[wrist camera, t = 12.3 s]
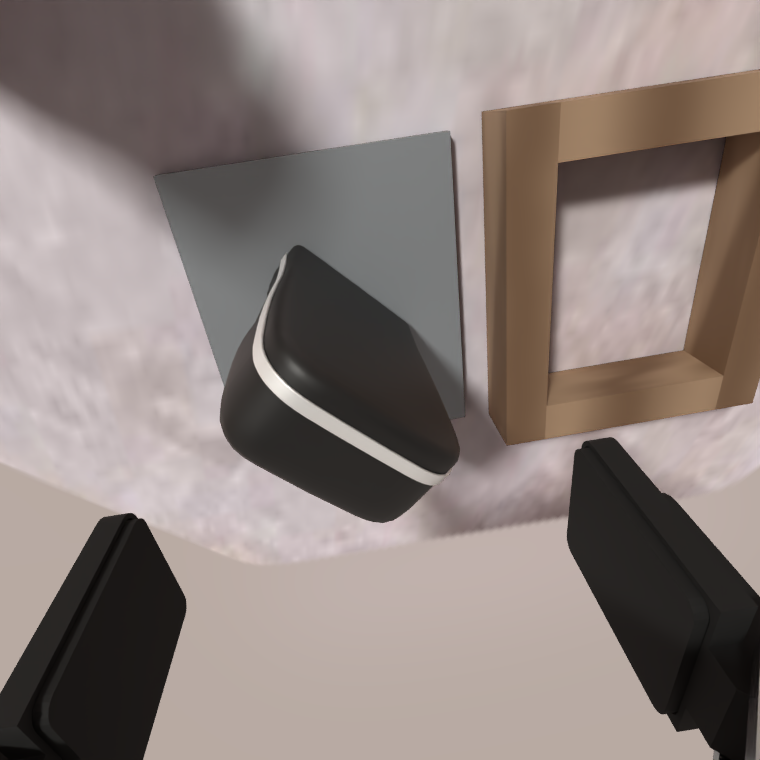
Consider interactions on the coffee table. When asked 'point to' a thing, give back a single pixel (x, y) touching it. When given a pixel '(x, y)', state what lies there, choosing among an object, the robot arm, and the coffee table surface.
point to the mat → (327, 239)
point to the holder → (536, 254)
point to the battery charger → (337, 395)
